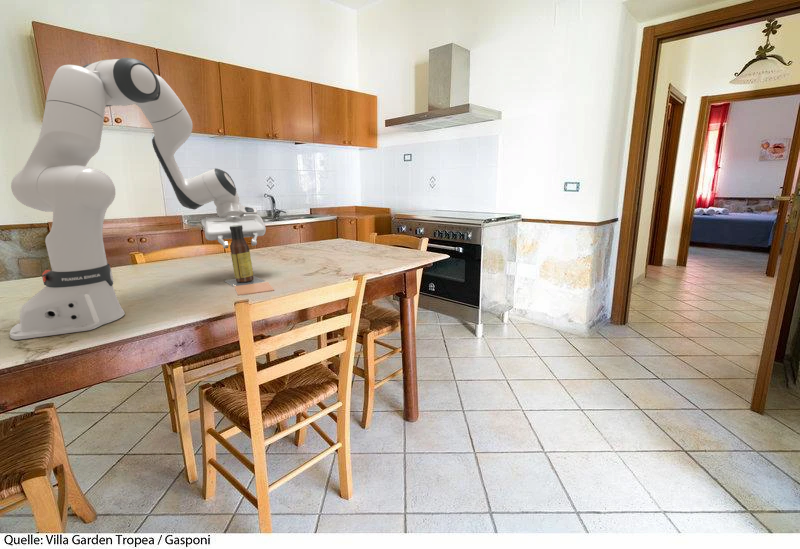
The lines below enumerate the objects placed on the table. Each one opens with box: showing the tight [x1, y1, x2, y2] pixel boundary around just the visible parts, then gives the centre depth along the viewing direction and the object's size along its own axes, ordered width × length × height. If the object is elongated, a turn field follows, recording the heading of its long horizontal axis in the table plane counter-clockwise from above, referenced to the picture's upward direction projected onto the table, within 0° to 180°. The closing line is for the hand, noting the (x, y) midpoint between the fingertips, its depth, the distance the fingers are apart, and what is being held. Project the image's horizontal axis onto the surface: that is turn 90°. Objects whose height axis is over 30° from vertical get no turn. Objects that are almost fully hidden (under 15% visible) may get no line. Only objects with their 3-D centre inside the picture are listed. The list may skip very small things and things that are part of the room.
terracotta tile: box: [233, 281, 275, 296], centre depth 129 cm, size 11×11×1 cm
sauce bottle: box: [229, 225, 254, 282], centre depth 137 cm, size 7×6×20 cm
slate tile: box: [223, 275, 265, 287], centre depth 140 cm, size 11×11×1 cm
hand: (240, 245), depth 136 cm, fingers open, 8 cm apart
